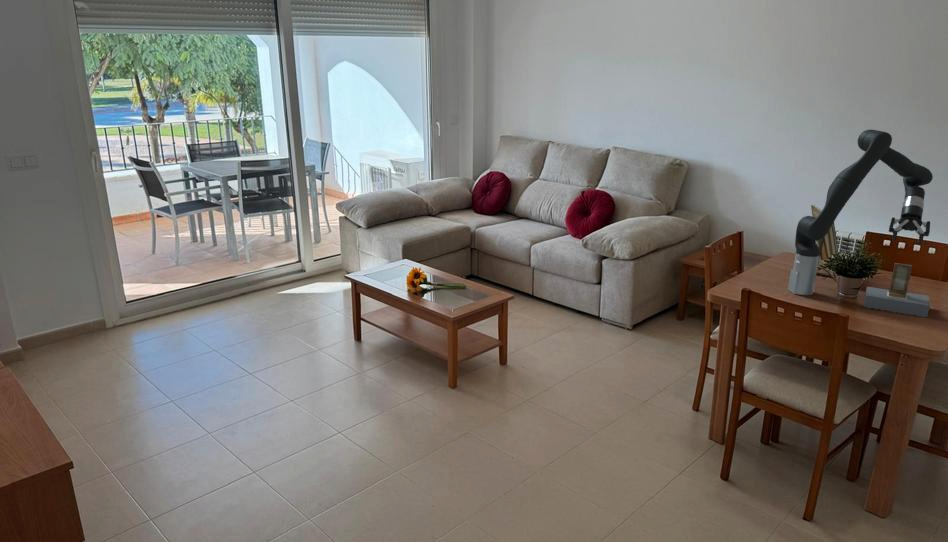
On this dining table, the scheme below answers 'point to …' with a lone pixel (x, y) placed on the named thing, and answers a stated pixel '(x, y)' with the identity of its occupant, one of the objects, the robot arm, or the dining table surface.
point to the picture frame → (826, 242)
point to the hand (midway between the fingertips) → (907, 241)
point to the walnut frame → (900, 280)
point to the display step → (897, 302)
